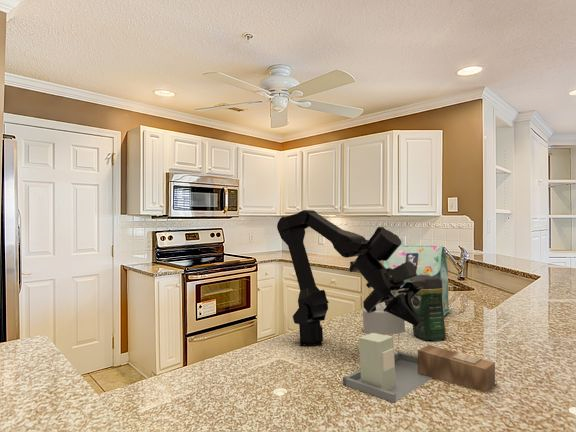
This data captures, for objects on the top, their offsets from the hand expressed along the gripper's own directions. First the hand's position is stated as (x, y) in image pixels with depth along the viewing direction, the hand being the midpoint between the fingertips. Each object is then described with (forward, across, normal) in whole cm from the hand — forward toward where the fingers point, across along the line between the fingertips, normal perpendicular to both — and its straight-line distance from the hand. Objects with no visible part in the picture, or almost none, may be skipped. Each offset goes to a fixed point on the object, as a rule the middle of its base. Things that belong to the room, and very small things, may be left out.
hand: (418, 324), depth 82 cm
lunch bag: (-13, +55, +29) cm, 63 cm away
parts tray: (+6, -7, +9) cm, 13 cm away
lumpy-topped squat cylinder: (-11, +25, +27) cm, 38 cm away
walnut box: (+6, 0, +5) cm, 7 cm away
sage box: (+6, -14, +8) cm, 17 cm away
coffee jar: (0, +27, +16) cm, 32 cm away
